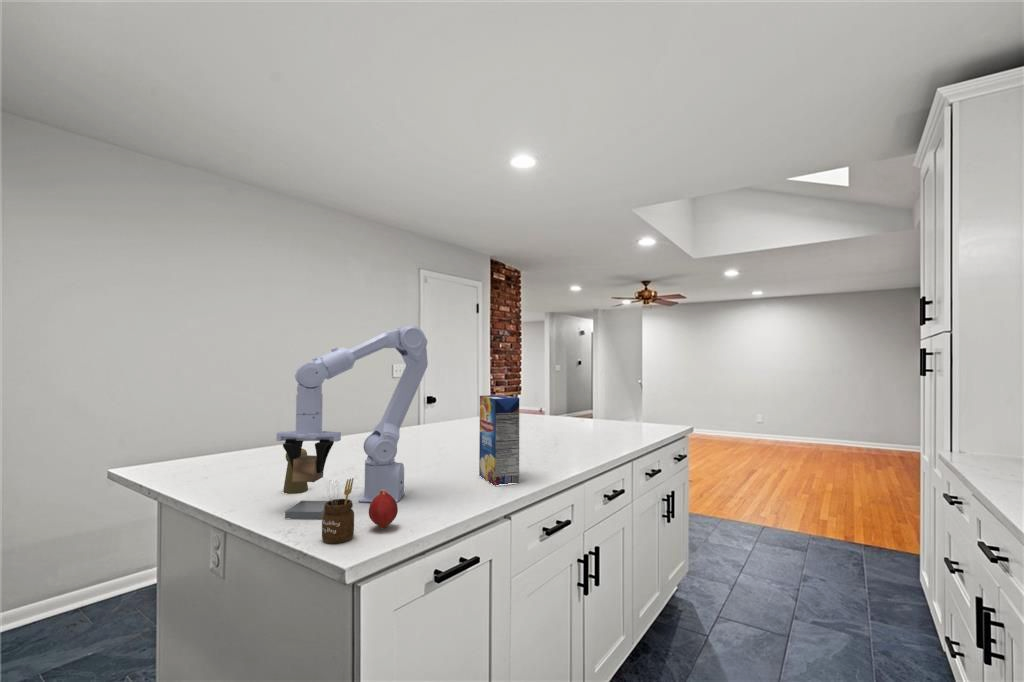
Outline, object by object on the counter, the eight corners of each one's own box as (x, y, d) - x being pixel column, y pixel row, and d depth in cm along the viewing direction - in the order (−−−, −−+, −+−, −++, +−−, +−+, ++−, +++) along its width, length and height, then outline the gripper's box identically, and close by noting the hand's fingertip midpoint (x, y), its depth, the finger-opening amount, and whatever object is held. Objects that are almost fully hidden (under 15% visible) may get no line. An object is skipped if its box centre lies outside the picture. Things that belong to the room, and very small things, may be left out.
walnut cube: (323, 476, 116) (323, 455, 116) (313, 482, 111) (314, 460, 111) (302, 476, 116) (303, 455, 116) (292, 481, 111) (293, 459, 111)
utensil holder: (339, 531, 98) (340, 471, 98) (361, 537, 95) (362, 475, 95) (314, 540, 93) (315, 477, 93) (337, 547, 90) (338, 482, 90)
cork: (298, 494, 124) (299, 451, 124) (277, 493, 125) (278, 450, 125) (312, 488, 130) (313, 447, 130) (292, 487, 131) (293, 446, 131)
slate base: (335, 507, 113) (335, 500, 113) (321, 519, 105) (321, 511, 105) (301, 507, 113) (301, 500, 113) (284, 518, 105) (284, 511, 105)
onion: (371, 523, 102) (372, 485, 103) (399, 523, 103) (399, 485, 103) (365, 533, 97) (366, 493, 97) (395, 532, 97) (395, 492, 97)
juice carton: (479, 476, 143) (479, 395, 144) (502, 474, 146) (502, 394, 147) (494, 486, 132) (495, 398, 133) (519, 483, 135) (519, 398, 136)
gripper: (269, 415, 110) (268, 475, 109) (332, 415, 109) (331, 476, 109) (285, 411, 117) (284, 468, 116) (344, 412, 116) (343, 469, 116)
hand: (308, 471), depth 113 cm, fingers closed on walnut cube, 5 cm apart
